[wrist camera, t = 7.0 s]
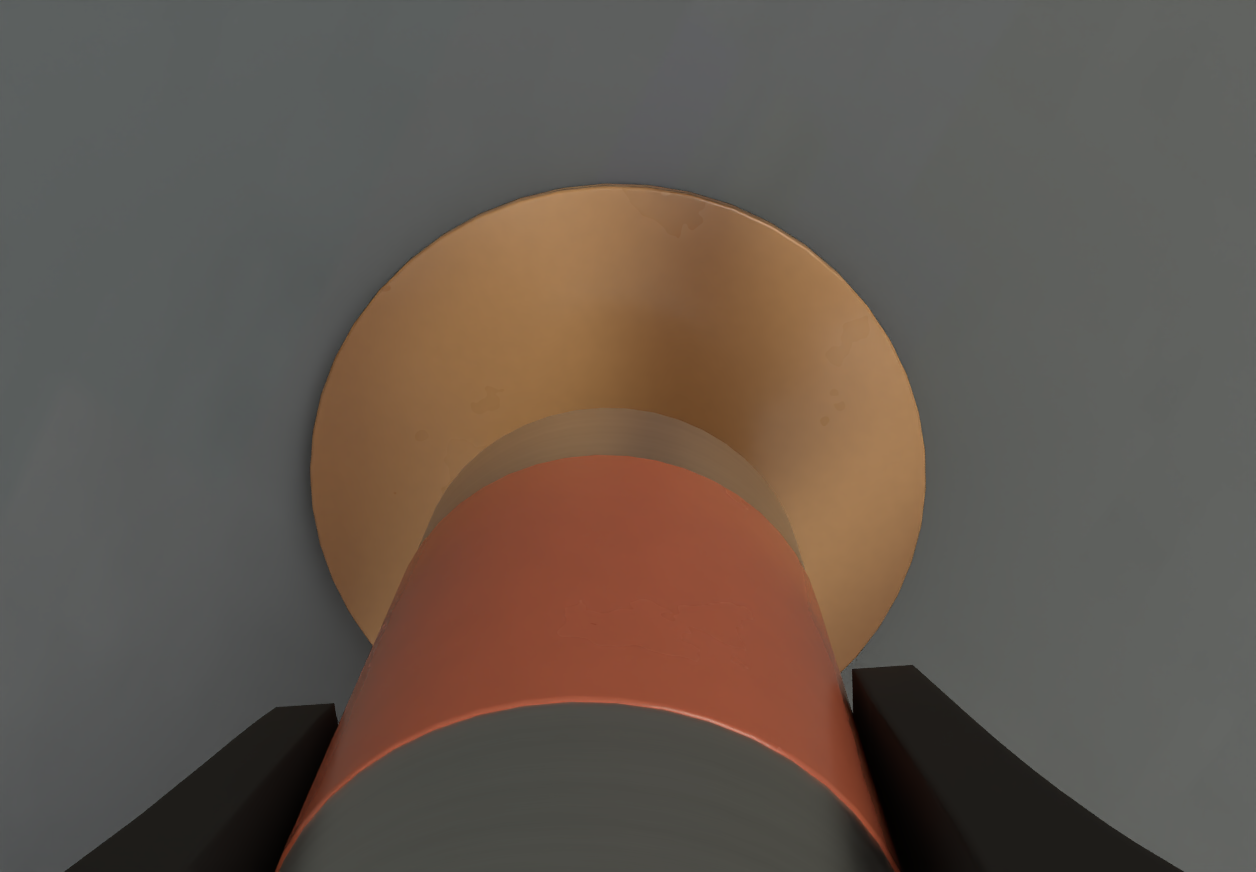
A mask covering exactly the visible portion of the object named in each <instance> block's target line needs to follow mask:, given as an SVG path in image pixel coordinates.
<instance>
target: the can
mask: <svg viewBox="0 0 1256 872" xmlns="http://www.w3.org/2000/svg"><path fill="white" fill-rule="evenodd" d="M275 872H902V870H901V866H900V863H899V860H898V857H897V854H896V850H895V847H894V844H893V841H892V838H891V834H890V831H889V828H888V825H887V822H886V819H885V815H884V812H883V809H882V806H881V803H880V799H879V796H878V793H877V790H876V787H875V783H874V780H873V777H872V774H871V771H870V767H869V764H868V761H867V758H866V755H865V751H864V748H863V745H862V742H861V739H860V735H859V732H858V729H857V726H856V723H855V719H854V716H853V713H852V710H851V707H850V703H849V700H848V697H847V694H846V691H845V687H844V684H843V681H842V678H841V675H840V671H839V668H838V665H837V662H836V659H835V655H834V652H833V649H832V646H831V643H830V639H829V636H828V633H827V630H826V627H825V623H824V620H823V617H822V614H821V611H820V607H819V604H818V601H817V599H816V596H815V593H814V590H813V588H812V585H811V582H810V579H809V577H808V575H807V573H806V571H805V567H804V564H803V561H802V558H801V554H800V551H799V548H798V545H797V541H796V538H795V536H794V533H793V530H792V527H791V525H790V522H789V519H788V517H787V515H786V513H785V511H784V509H783V507H782V506H781V504H780V502H779V500H778V498H777V496H776V495H775V494H774V492H773V491H772V489H771V488H770V487H769V485H768V484H767V483H766V481H765V480H764V479H763V477H762V476H761V475H760V474H759V473H758V472H757V471H756V470H755V469H754V468H753V467H752V466H751V465H750V464H749V463H748V462H747V461H746V460H745V459H744V458H743V457H742V456H741V455H739V454H738V453H737V452H736V451H734V450H733V449H732V448H730V447H729V446H728V445H727V444H725V443H724V442H722V441H720V440H719V439H717V438H715V437H714V436H712V435H710V434H709V433H707V432H705V431H704V430H701V429H699V428H697V427H694V426H692V425H690V424H687V423H685V422H683V421H680V420H678V419H674V418H671V417H667V416H664V415H660V414H657V413H653V412H646V411H640V410H634V409H625V408H594V409H584V410H574V411H570V412H565V413H561V414H556V415H552V416H548V417H546V418H543V419H540V420H537V421H535V422H532V423H529V424H526V425H524V426H522V427H520V428H518V429H516V430H514V431H512V432H511V433H509V434H507V435H505V436H503V437H501V438H500V439H498V440H497V441H496V442H494V443H493V444H491V445H490V446H488V447H487V448H486V449H484V450H483V451H481V452H480V453H479V454H478V455H477V456H476V457H475V458H474V459H473V460H472V461H471V462H469V463H468V464H467V465H466V466H465V467H464V468H463V469H462V471H461V472H460V473H459V474H458V475H457V477H456V478H455V479H454V480H453V482H452V483H451V484H450V485H449V486H448V488H447V490H446V491H445V493H444V495H443V496H442V498H441V500H440V501H439V503H438V504H437V506H436V508H435V510H434V513H433V515H432V517H431V520H430V522H429V524H428V527H427V529H426V531H425V534H424V536H423V538H422V541H421V543H420V545H419V548H418V550H417V552H416V553H415V555H414V557H413V558H412V560H411V562H410V563H409V565H408V567H407V569H406V571H405V573H404V576H403V578H402V580H401V583H400V585H399V587H398V590H397V592H396V594H395V596H394V599H393V601H392V603H391V606H390V608H389V610H388V612H387V615H386V617H385V619H384V622H383V624H382V626H381V628H380V631H379V633H378V635H377V638H376V640H375V642H374V645H373V647H372V649H371V651H370V654H369V656H368V658H367V661H366V663H365V665H364V667H363V670H362V672H361V674H360V677H359V679H358V681H357V683H356V686H355V688H354V690H353V693H352V695H351V697H350V700H349V702H348V704H347V706H346V709H345V711H344V713H343V716H342V718H341V720H340V722H339V725H338V727H337V729H336V732H335V734H334V736H333V739H332V741H331V743H330V745H329V748H328V750H327V752H326V755H325V757H324V759H323V761H322V764H321V766H320V768H319V771H318V773H317V775H316V777H315V780H314V782H313V784H312V787H311V789H310V791H309V794H308V796H307V798H306V800H305V803H304V805H303V807H302V810H301V812H300V814H299V816H298V819H297V821H296V823H295V826H294V828H293V830H292V832H291V835H290V837H289V839H288V842H287V844H286V846H285V849H284V851H283V853H282V855H281V858H280V860H279V863H278V865H277V867H276V870H275Z"/></svg>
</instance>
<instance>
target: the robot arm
mask: <svg viewBox="0 0 1256 872" xmlns="http://www.w3.org/2000/svg"><path fill="white" fill-rule="evenodd" d="M852 684H853V716H854V719H855V723H856V726H857V729H858V732H859V735H860V739H861V742H862V745H863V748H864V751H865V755H866V758H867V761H868V764H869V767H870V771H871V774H872V777H873V780H874V783H875V787H876V790H877V793H878V796H879V799H880V803H881V806H882V809H883V812H884V815H885V819H886V822H887V825H888V828H889V831H890V834H891V838H892V841H893V844H894V847H895V850H896V854H897V857H898V860H899V863H900V866H901V870H902V872H1183V871H1182V870H1180V869H1178V868H1177V867H1175V866H1173V865H1172V864H1170V863H1168V862H1167V861H1165V860H1163V859H1162V858H1160V857H1158V856H1157V855H1155V854H1154V853H1152V852H1150V851H1149V850H1147V849H1145V848H1144V847H1142V846H1140V845H1139V844H1137V843H1135V842H1134V841H1132V840H1131V839H1129V838H1128V837H1126V836H1125V835H1123V834H1122V833H1120V832H1118V831H1117V830H1115V829H1114V828H1112V827H1111V826H1109V825H1108V824H1106V823H1105V822H1104V821H1102V820H1101V819H1099V818H1098V817H1097V816H1095V815H1094V814H1092V813H1091V812H1090V811H1088V810H1087V809H1085V808H1084V807H1083V806H1081V805H1080V804H1078V803H1077V802H1076V801H1074V800H1073V799H1071V798H1070V797H1069V796H1067V795H1066V794H1064V793H1063V792H1062V791H1060V790H1059V789H1058V788H1056V787H1055V786H1054V785H1052V784H1051V783H1050V782H1048V781H1047V780H1046V779H1045V778H1043V777H1042V776H1041V775H1039V774H1038V773H1037V772H1035V771H1034V770H1033V769H1032V768H1030V767H1029V766H1028V765H1027V764H1025V763H1024V762H1023V761H1022V760H1020V759H1019V758H1018V757H1017V756H1016V755H1014V754H1013V753H1012V752H1011V751H1010V750H1008V749H1007V748H1006V747H1005V746H1003V745H1002V744H1001V743H1000V742H999V741H998V740H996V739H995V738H994V737H993V736H992V735H991V734H989V733H988V732H987V731H986V730H985V729H984V728H983V727H981V726H980V725H979V724H978V723H977V722H976V721H975V720H974V719H972V718H971V717H970V716H969V715H968V714H967V713H966V712H964V711H963V710H962V709H961V708H960V707H959V706H958V705H957V704H956V703H955V702H953V701H952V700H951V699H950V698H949V697H948V696H947V695H946V694H945V693H943V692H942V691H941V690H940V689H939V688H938V687H937V686H936V685H935V684H933V683H932V682H931V681H930V680H929V679H928V678H927V677H926V676H924V675H923V674H922V673H921V672H920V671H919V670H918V669H917V668H915V667H914V666H913V665H906V666H891V667H876V668H861V669H852ZM337 727H338V722H337V716H336V711H335V706H334V703H333V704H318V705H303V706H288V707H276V708H274V709H273V710H272V711H270V712H269V713H267V714H266V715H264V716H263V717H261V718H260V719H259V720H257V721H256V722H255V723H254V724H252V725H251V726H250V727H248V728H247V729H246V730H245V731H243V732H242V733H241V734H240V735H238V736H237V737H236V738H235V739H233V740H232V741H231V742H230V743H228V744H227V745H226V746H225V747H224V748H222V749H221V750H220V751H219V752H217V753H216V754H215V755H214V756H213V757H211V758H210V759H209V760H208V761H207V762H205V763H204V764H203V765H202V766H200V767H199V768H198V769H197V770H196V771H194V772H193V773H192V774H191V775H189V776H188V777H187V778H186V779H184V780H183V781H182V782H181V783H179V784H178V785H177V786H176V787H174V788H173V789H172V790H171V791H170V792H168V793H167V794H166V795H165V796H163V797H162V798H161V799H160V800H158V801H157V802H156V803H155V804H153V805H152V806H151V807H150V808H148V809H147V810H146V811H145V812H144V813H142V814H141V815H140V816H138V817H137V818H136V819H135V820H133V821H132V822H131V823H129V824H128V825H127V826H125V827H124V828H122V829H121V830H120V831H118V832H117V833H116V834H114V835H113V836H112V837H110V838H109V839H108V840H106V841H105V842H104V843H102V844H101V845H100V846H98V847H97V848H96V849H94V850H93V851H91V852H90V853H89V854H87V855H86V856H85V857H83V858H82V859H81V860H79V861H78V862H77V863H75V864H74V865H73V866H71V867H70V868H69V869H67V870H66V871H65V872H275V870H276V867H277V865H278V863H279V860H280V858H281V855H282V853H283V851H284V849H285V846H286V844H287V842H288V839H289V837H290V835H291V832H292V830H293V828H294V826H295V823H296V821H297V819H298V816H299V814H300V812H301V810H302V807H303V805H304V803H305V800H306V798H307V796H308V794H309V791H310V789H311V787H312V784H313V782H314V780H315V777H316V775H317V773H318V771H319V768H320V766H321V764H322V761H323V759H324V757H325V755H326V752H327V750H328V748H329V745H330V743H331V741H332V739H333V736H334V734H335V732H336V729H337Z"/></svg>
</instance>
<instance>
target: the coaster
mask: <svg viewBox="0 0 1256 872" xmlns="http://www.w3.org/2000/svg"><path fill="white" fill-rule="evenodd" d="M594 408H625V409H634V410H640V411H646V412H653V413H657V414H660V415H664V416H667V417H671V418H674V419H678V420H680V421H683V422H685V423H687V424H690V425H692V426H694V427H697V428H699V429H701V430H704V431H705V432H707V433H709V434H710V435H712V436H714V437H715V438H717V439H719V440H720V441H722V442H724V443H725V444H727V445H728V446H729V447H730V448H732V449H733V450H734V451H736V452H737V453H738V454H739V455H741V456H742V457H743V458H744V459H745V460H746V461H747V462H748V463H749V464H750V465H751V466H752V467H753V468H754V469H755V470H756V471H757V472H758V473H759V474H760V475H761V476H762V477H763V479H764V480H765V481H766V483H767V484H768V485H769V487H770V488H771V489H772V491H773V492H774V494H775V495H776V496H777V498H778V500H779V502H780V504H781V506H782V507H783V509H784V511H785V513H786V515H787V517H788V519H789V522H790V525H791V527H792V530H793V533H794V536H795V538H796V541H797V545H798V548H799V551H800V554H801V558H802V561H803V564H804V567H805V571H806V573H807V575H808V577H809V579H810V582H811V585H812V588H813V590H814V593H815V596H816V599H817V601H818V604H819V607H820V611H821V614H822V617H823V620H824V623H825V627H826V630H827V633H828V636H829V639H830V643H831V646H832V649H833V652H834V655H835V659H836V662H837V665H838V668H839V671H840V673H841V672H842V671H843V670H844V669H845V668H846V667H847V666H848V665H849V664H850V663H851V661H852V660H853V659H854V658H855V657H856V656H857V655H858V654H859V653H860V651H861V650H862V649H863V647H864V646H865V645H866V644H867V642H868V641H869V640H870V638H871V637H872V636H873V634H874V633H875V632H876V631H877V629H878V628H879V626H880V625H881V623H882V621H883V620H884V618H885V616H886V614H887V613H888V611H889V609H890V608H891V606H892V604H893V602H894V601H895V599H896V597H897V595H898V593H899V591H900V588H901V586H902V584H903V581H904V579H905V576H906V574H907V571H908V569H909V567H910V564H911V562H912V559H913V555H914V551H915V547H916V543H917V540H918V536H919V532H920V528H921V524H922V515H923V507H924V498H925V490H926V477H925V448H924V442H923V436H922V430H921V424H920V418H919V412H918V409H917V406H916V402H915V399H914V396H913V393H912V390H911V387H910V383H909V380H908V377H907V374H906V372H905V370H904V368H903V366H902V364H901V362H900V360H899V358H898V356H897V354H896V351H895V349H894V347H893V345H892V343H891V341H890V339H889V338H888V336H887V335H886V333H885V332H884V330H883V329H882V327H881V326H880V324H879V323H878V321H877V320H876V318H875V317H874V315H873V314H872V312H871V311H870V309H869V308H868V306H867V305H866V304H865V303H864V301H863V300H862V299H861V298H860V297H859V296H858V295H857V294H856V292H855V291H854V290H853V289H852V288H851V287H850V286H849V285H848V283H847V282H846V281H845V280H844V279H843V278H842V277H841V276H840V275H839V273H838V272H837V271H836V270H834V269H833V268H832V267H831V266H830V265H829V264H827V263H826V262H825V261H824V260H823V259H821V258H820V257H819V256H818V255H817V254H816V253H814V252H813V251H812V250H811V249H810V248H808V247H807V246H806V245H805V244H803V243H802V242H800V241H799V240H797V239H795V238H794V237H792V236H791V235H789V234H788V233H786V232H784V231H783V230H781V229H780V228H778V227H777V226H775V225H773V224H772V223H770V222H768V221H766V220H764V219H762V218H760V217H757V216H755V215H753V214H751V213H749V212H746V211H744V210H742V209H740V208H738V207H736V206H733V205H731V204H728V203H725V202H721V201H718V200H715V199H712V198H708V197H705V196H702V195H698V194H695V193H692V192H687V191H681V190H675V189H669V188H663V187H657V186H651V185H632V184H596V185H587V186H577V187H568V188H560V189H556V190H552V191H548V192H543V193H539V194H535V195H531V196H527V197H523V198H519V199H516V200H514V201H511V202H509V203H506V204H504V205H501V206H499V207H496V208H493V209H491V210H488V211H486V212H483V213H481V214H479V215H477V216H475V217H473V218H472V219H470V220H468V221H466V222H464V223H463V224H461V225H459V226H457V227H455V228H454V229H452V230H450V231H448V232H446V233H445V234H443V235H442V236H440V237H439V238H438V239H436V240H435V241H434V242H432V243H431V244H430V245H428V246H427V247H426V248H424V249H423V250H422V251H420V252H419V253H418V254H416V255H415V256H414V257H413V258H411V259H410V260H409V261H408V262H407V263H406V264H405V265H404V266H403V267H402V268H401V269H400V270H399V271H398V272H397V273H396V274H395V275H394V276H393V277H392V278H391V279H390V280H389V281H388V282H387V283H386V284H385V285H384V286H383V287H382V288H381V289H380V290H379V291H378V292H377V294H376V295H375V296H374V298H373V299H372V300H371V302H370V303H369V304H368V305H367V307H366V308H365V309H364V311H363V312H362V313H361V315H360V316H359V317H358V319H357V320H356V321H355V323H354V324H353V326H352V328H351V330H350V332H349V333H348V335H347V337H346V339H345V341H344V342H343V344H342V346H341V348H340V350H339V352H338V353H337V355H336V357H335V359H334V362H333V364H332V367H331V370H330V372H329V375H328V378H327V380H326V383H325V386H324V388H323V391H322V393H321V397H320V402H319V406H318V411H317V415H316V420H315V424H314V429H313V436H312V449H311V462H310V479H311V494H312V508H313V513H314V518H315V522H316V527H317V532H318V537H319V542H320V545H321V548H322V551H323V554H324V557H325V560H326V562H327V565H328V568H329V571H330V574H331V577H332V579H333V581H334V583H335V585H336V587H337V589H338V591H339V593H340V595H341V597H342V599H343V601H344V603H345V605H346V607H347V609H348V611H349V612H350V614H351V615H352V617H353V618H354V620H355V621H356V623H357V624H358V625H359V627H360V628H361V630H362V631H363V633H364V634H365V636H366V637H367V639H368V640H369V642H370V643H371V644H372V645H374V642H375V640H376V638H377V635H378V633H379V631H380V628H381V626H382V624H383V622H384V619H385V617H386V615H387V612H388V610H389V608H390V606H391V603H392V601H393V599H394V596H395V594H396V592H397V590H398V587H399V585H400V583H401V580H402V578H403V576H404V573H405V571H406V569H407V567H408V565H409V563H410V562H411V560H412V558H413V557H414V555H415V553H416V552H417V550H418V548H419V545H420V543H421V541H422V538H423V536H424V534H425V531H426V529H427V527H428V524H429V522H430V520H431V517H432V515H433V513H434V510H435V508H436V506H437V504H438V503H439V501H440V500H441V498H442V496H443V495H444V493H445V491H446V490H447V488H448V486H449V485H450V484H451V483H452V482H453V480H454V479H455V478H456V477H457V475H458V474H459V473H460V472H461V471H462V469H463V468H464V467H465V466H466V465H467V464H468V463H469V462H471V461H472V460H473V459H474V458H475V457H476V456H477V455H478V454H479V453H480V452H481V451H483V450H484V449H486V448H487V447H488V446H490V445H491V444H493V443H494V442H496V441H497V440H498V439H500V438H501V437H503V436H505V435H507V434H509V433H511V432H512V431H514V430H516V429H518V428H520V427H522V426H524V425H526V424H529V423H532V422H535V421H537V420H540V419H543V418H546V417H548V416H552V415H556V414H561V413H565V412H570V411H574V410H584V409H594Z"/></svg>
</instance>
